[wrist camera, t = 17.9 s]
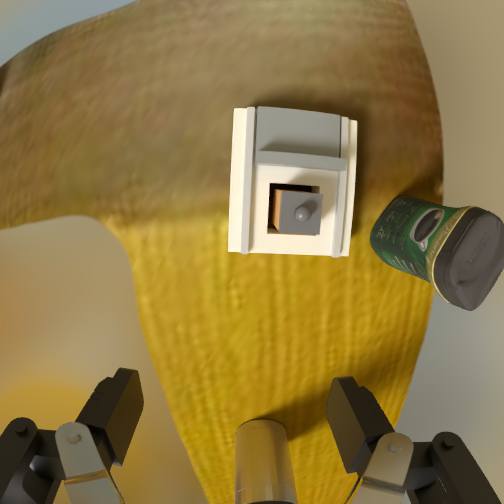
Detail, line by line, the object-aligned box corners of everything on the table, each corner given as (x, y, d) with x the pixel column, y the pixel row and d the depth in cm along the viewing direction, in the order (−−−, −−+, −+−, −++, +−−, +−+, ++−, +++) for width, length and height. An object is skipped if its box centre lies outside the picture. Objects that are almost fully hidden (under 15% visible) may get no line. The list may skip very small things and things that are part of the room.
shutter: (336, 171, 30) (345, 170, 27) (254, 164, 29) (256, 162, 26) (337, 116, 28) (347, 110, 25) (257, 108, 28) (259, 100, 25)
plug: (303, 223, 36) (322, 237, 27) (271, 221, 35) (281, 234, 26) (305, 191, 35) (326, 195, 26) (273, 189, 34) (284, 191, 25)
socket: (337, 248, 36) (350, 257, 32) (229, 244, 36) (227, 253, 31) (345, 126, 33) (359, 119, 28) (235, 116, 32) (234, 106, 27)
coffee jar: (393, 273, 38) (475, 331, 19) (359, 238, 36) (443, 286, 18) (431, 222, 36) (524, 253, 18) (400, 185, 35) (499, 196, 17)
